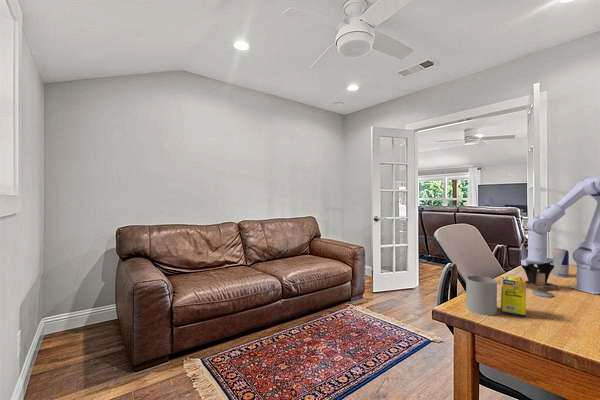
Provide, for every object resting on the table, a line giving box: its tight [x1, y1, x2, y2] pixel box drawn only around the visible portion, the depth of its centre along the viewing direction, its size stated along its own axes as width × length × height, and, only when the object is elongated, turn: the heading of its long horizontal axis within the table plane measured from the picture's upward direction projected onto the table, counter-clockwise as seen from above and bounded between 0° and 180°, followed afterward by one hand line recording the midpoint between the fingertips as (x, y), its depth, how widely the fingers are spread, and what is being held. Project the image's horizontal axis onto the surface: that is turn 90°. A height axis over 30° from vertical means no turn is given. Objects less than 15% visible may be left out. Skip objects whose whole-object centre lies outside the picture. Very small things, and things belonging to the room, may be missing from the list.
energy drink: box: [552, 248, 570, 278], centre depth 130 cm, size 5×5×12 cm
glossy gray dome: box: [531, 290, 555, 298], centre depth 105 cm, size 6×6×1 cm
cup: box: [465, 275, 498, 316], centre depth 92 cm, size 8×8×10 cm
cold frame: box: [525, 280, 559, 292], centre depth 114 cm, size 10×8×2 cm
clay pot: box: [530, 270, 545, 287], centre depth 114 cm, size 4×4×6 cm
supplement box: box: [500, 274, 527, 318], centre depth 90 cm, size 6×6×11 cm
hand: (537, 282), depth 114 cm, fingers open, 5 cm apart
